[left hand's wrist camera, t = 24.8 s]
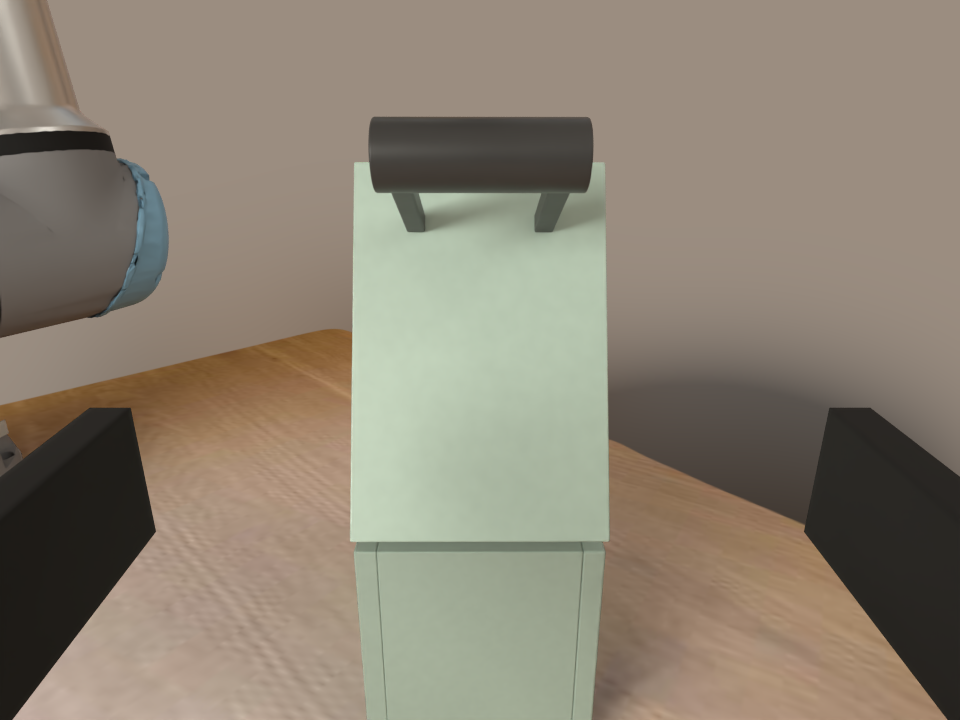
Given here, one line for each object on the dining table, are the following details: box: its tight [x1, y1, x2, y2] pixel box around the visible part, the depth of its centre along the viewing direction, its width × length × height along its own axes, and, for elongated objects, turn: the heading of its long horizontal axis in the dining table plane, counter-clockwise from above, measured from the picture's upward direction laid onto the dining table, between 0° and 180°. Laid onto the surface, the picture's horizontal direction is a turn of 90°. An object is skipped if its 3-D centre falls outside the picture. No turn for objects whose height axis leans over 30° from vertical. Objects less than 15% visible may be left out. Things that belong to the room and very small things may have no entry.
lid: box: [350, 117, 610, 542], centre depth 21 cm, size 14×10×9 cm
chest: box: [354, 542, 606, 720], centre depth 33 cm, size 13×10×11 cm
